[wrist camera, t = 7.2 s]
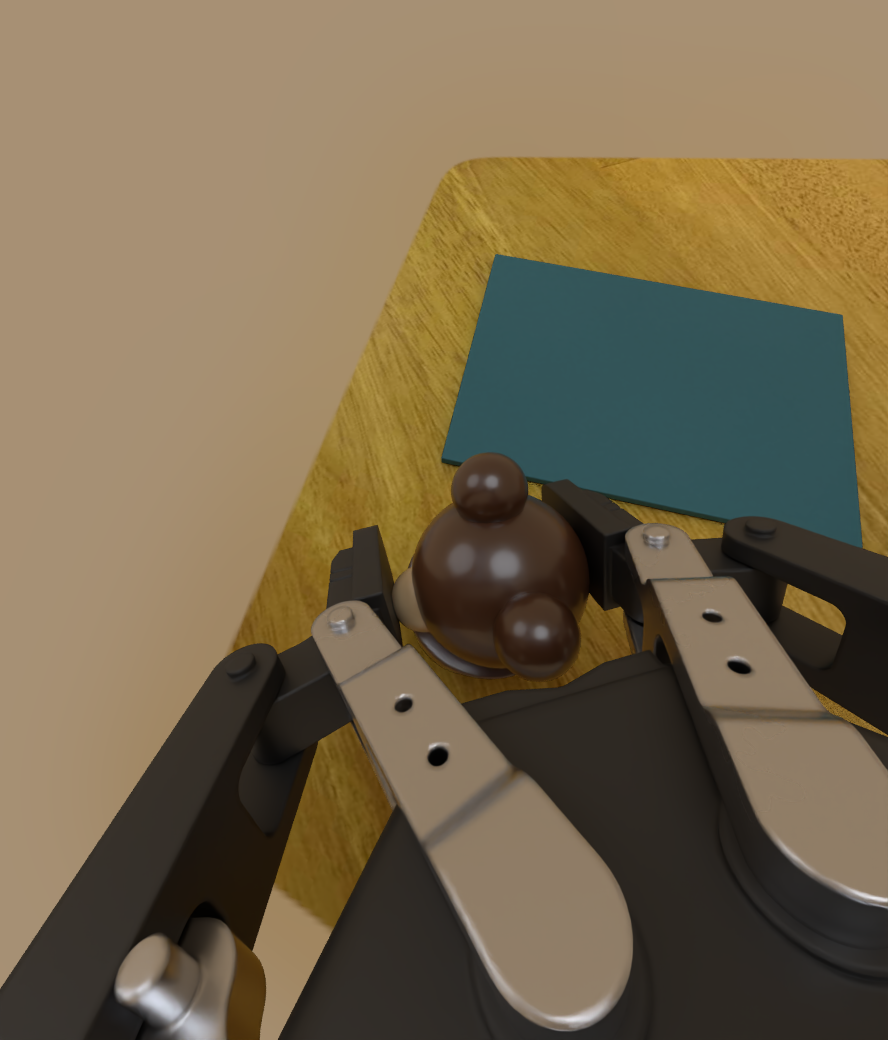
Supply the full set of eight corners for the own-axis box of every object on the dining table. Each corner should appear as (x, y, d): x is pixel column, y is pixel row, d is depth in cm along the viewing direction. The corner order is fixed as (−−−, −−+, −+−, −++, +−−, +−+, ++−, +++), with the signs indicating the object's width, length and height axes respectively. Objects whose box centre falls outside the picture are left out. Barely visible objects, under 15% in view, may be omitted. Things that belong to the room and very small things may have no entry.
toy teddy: (420, 691, 17) (407, 727, 7) (394, 573, 19) (353, 466, 9) (544, 657, 18) (692, 644, 8) (507, 545, 20) (591, 414, 9)
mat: (441, 462, 21) (441, 458, 21) (494, 261, 25) (495, 253, 25) (853, 551, 20) (863, 548, 19) (835, 321, 24) (843, 314, 23)
